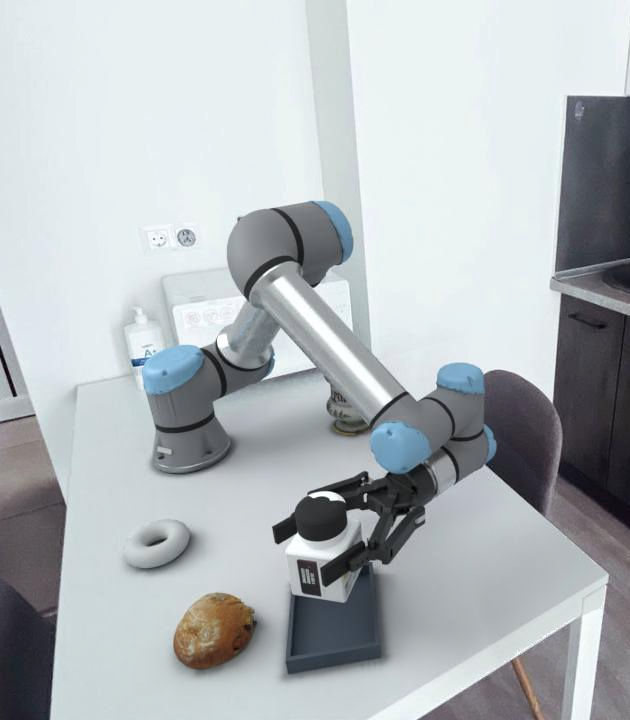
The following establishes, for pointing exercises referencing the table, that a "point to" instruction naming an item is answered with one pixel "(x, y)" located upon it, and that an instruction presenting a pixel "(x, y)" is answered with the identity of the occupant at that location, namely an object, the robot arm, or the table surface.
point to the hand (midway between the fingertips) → (297, 555)
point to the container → (321, 546)
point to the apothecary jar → (345, 415)
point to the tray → (334, 628)
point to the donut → (158, 554)
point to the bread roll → (213, 631)
